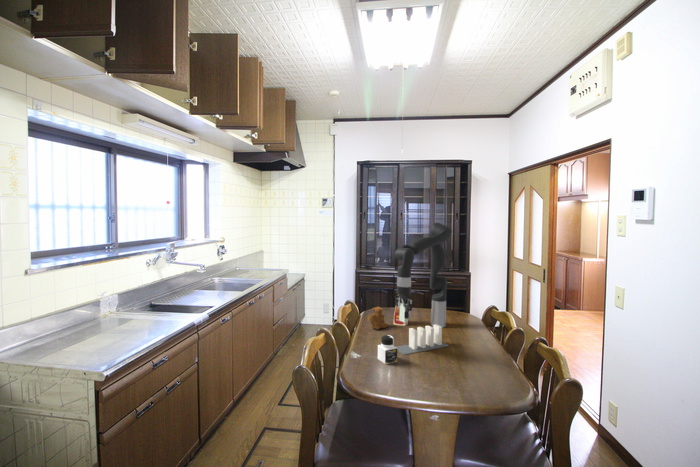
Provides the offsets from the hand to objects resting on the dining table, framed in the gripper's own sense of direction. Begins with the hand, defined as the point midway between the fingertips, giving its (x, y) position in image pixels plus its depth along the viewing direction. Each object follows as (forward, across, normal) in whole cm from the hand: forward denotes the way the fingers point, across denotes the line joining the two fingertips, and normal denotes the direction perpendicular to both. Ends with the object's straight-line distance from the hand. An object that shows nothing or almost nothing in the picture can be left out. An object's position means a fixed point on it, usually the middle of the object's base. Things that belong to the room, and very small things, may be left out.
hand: (403, 316), depth 167 cm
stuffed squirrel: (+18, +37, -5) cm, 41 cm away
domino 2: (+18, 0, -6) cm, 19 cm away
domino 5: (+17, 0, -23) cm, 29 cm away
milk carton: (+18, +39, -24) cm, 49 cm away
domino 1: (+2, 0, 0) cm, 2 cm away
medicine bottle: (+18, -8, +14) cm, 25 cm away
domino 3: (+17, 0, -12) cm, 21 cm away
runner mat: (+18, 0, -12) cm, 21 cm away
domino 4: (+17, 0, -17) cm, 25 cm away
